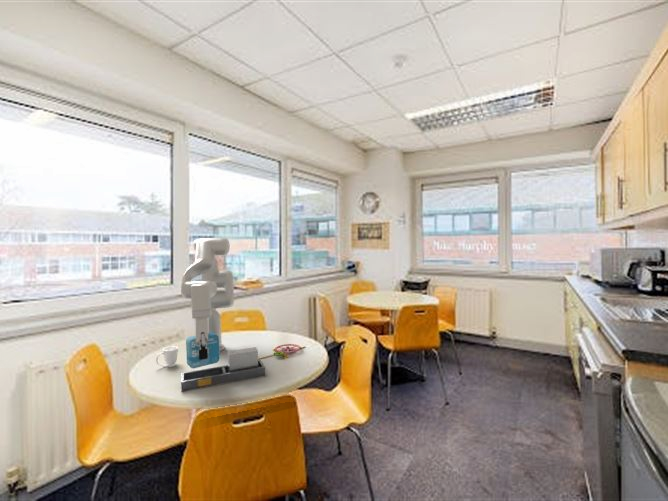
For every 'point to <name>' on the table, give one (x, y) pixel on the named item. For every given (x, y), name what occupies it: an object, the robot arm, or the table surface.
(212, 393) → the table surface
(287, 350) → the mechanical gear assembly
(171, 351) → the cup
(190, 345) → the data package
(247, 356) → the rack
